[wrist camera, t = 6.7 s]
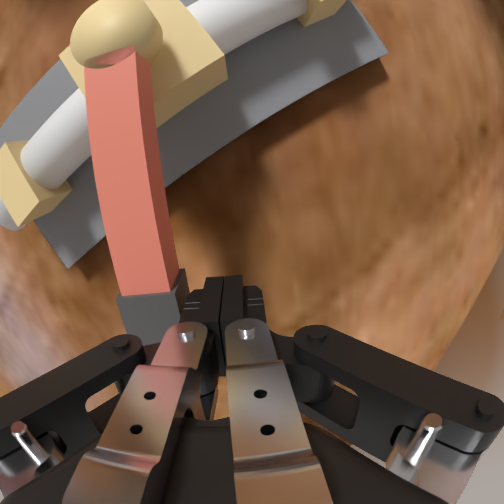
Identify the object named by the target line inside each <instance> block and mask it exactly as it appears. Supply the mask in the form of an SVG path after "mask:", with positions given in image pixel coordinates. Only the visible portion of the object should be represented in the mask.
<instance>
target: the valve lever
mask: <svg viewBox="0 0 504 504" xmlns="http://www.w3.org/2000/svg"><path fill="white" fill-rule="evenodd" d="M162 41H163V32H162V28H161V26H160V24H159V22H158V21H157V19H156V18H155V16H154V15H153V13H152V12H151V10H150V9H149V7H148V6H147V4H146V3H145V2H144V1H143V0H99V1H97V2H96V3H94V4H93V5H91V6H90V7H89V8H88V9H87V10H86V11H85V12H84V13H83V14H82V15H81V16H80V18H79V19H78V21H77V22H76V24H75V26H74V28H73V31H72V34H71V39H70V48H71V52H72V55H73V57H74V58H75V60H76V61H77V62H78V63H79V64H81V65H82V66H84V79H85V97H86V110H87V121H88V131H89V140H90V148H91V155H92V162H93V169H94V175H95V182H96V187H97V193H98V199H99V204H100V209H101V214H102V219H103V224H104V228H105V233H106V237H107V242H108V246H109V250H110V254H111V258H112V262H113V266H114V270H115V273H116V277H117V281H118V284H119V288H120V291H121V292H120V294H119V295H118V296H117V298H116V301H117V305H118V308H119V311H120V314H121V317H122V320H123V323H124V326H125V329H126V332H127V334H131V335H136V336H138V337H139V338H140V339H141V341H142V344H143V346H145V345H150V344H155V343H159V342H162V340H163V338H164V336H165V334H166V332H167V330H168V329H169V328H171V327H172V326H174V325H176V324H179V321H180V317H181V314H182V311H183V309H184V305H185V302H186V299H187V296H188V295H189V294H190V292H189V287H188V282H187V277H186V272H185V268H184V269H179V266H178V261H177V256H176V251H175V245H174V240H173V235H172V229H171V224H170V218H169V212H168V206H167V200H166V194H165V187H164V181H163V174H162V167H161V160H160V152H159V145H158V137H157V129H156V120H155V111H154V101H153V90H152V79H151V67H150V64H151V63H152V62H153V60H154V59H155V58H156V56H157V55H158V53H159V51H160V49H161V46H162Z"/></svg>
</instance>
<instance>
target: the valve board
mask: <svg viewBox="0 0 504 504" xmlns="http://www.w3.org/2000/svg"><path fill="white" fill-rule="evenodd" d="M143 1H144V2H145V3H146V4H147V6H148V7H149V9H150V10H151V12H152V13H153V15H154V16H155V18H156V19H157V21H158V22H159V24H160V26H161V28H162V32H163V41H162V46H161V49H160V51H159V53H158V55H157V56H156V58H155V59H154V60H153V62H152V63H151V64H150V67H151V79H152V90H153V101H154V111H155V120H156V129H157V137H158V145H159V152H160V160H161V167H162V174H163V181H164V187H165V188H166V187H167V186H169V185H170V184H171V183H173V182H174V181H175V180H177V179H178V178H179V177H181V176H182V175H184V174H185V173H186V172H188V171H189V170H191V169H192V168H193V167H195V166H196V165H198V164H199V163H200V162H202V161H203V160H205V159H206V158H207V157H209V156H210V155H212V154H213V153H215V152H216V151H218V150H219V149H221V148H222V147H224V146H225V145H227V144H228V143H230V142H231V141H233V140H234V139H236V138H237V137H239V136H240V135H242V134H243V133H245V132H246V131H248V130H250V129H251V128H253V127H254V126H256V125H257V124H259V123H261V122H262V121H264V120H265V119H267V118H269V117H270V116H272V115H274V114H275V113H277V112H279V111H280V110H282V109H284V108H285V107H287V106H289V105H290V104H292V103H294V102H296V101H297V100H299V99H301V98H303V97H304V96H306V95H308V94H310V93H311V92H313V91H315V90H317V89H319V88H321V87H322V86H324V85H326V84H328V83H330V82H332V81H334V80H335V79H337V78H339V77H341V76H343V75H345V74H347V73H349V72H351V71H353V70H355V69H357V68H359V67H361V66H363V65H365V64H367V63H369V62H371V61H373V60H376V59H378V58H380V57H382V56H383V55H385V54H387V53H389V52H388V51H387V49H386V48H385V46H384V45H383V43H382V42H381V40H380V39H379V37H378V36H377V34H376V33H375V31H374V30H373V29H372V27H371V26H370V24H369V23H368V22H367V20H366V19H365V18H364V16H363V15H362V14H361V12H360V11H359V10H358V8H357V7H356V6H355V5H354V3H353V2H352V1H351V0H143ZM59 57H60V60H59V61H58V62H57V63H56V64H55V65H54V66H53V67H52V68H51V69H50V70H49V71H48V72H47V73H46V74H45V75H44V76H43V77H42V78H41V79H40V80H39V82H38V83H37V84H36V85H35V86H34V87H33V88H32V89H31V90H30V92H29V93H28V94H27V95H26V96H25V97H24V98H23V100H22V101H21V102H20V103H19V104H18V106H17V107H16V108H15V109H14V111H13V112H12V113H11V114H10V116H9V117H8V118H7V120H6V121H5V122H4V124H3V125H2V126H1V128H0V225H1V226H3V227H4V228H6V229H9V230H13V231H17V230H21V229H22V228H24V227H25V225H26V224H27V223H28V222H30V221H32V220H34V222H35V223H36V225H37V226H38V228H39V229H40V231H41V232H42V234H43V235H44V237H45V238H46V239H47V241H48V242H49V244H50V245H51V247H52V248H53V249H54V251H55V252H56V254H57V255H58V256H59V258H60V259H61V260H62V262H63V263H64V264H65V266H66V267H67V268H68V269H69V268H70V267H71V266H72V265H73V264H75V263H76V262H77V261H78V260H79V259H80V258H81V257H82V256H84V255H85V254H86V253H87V252H88V251H89V250H90V249H91V248H93V247H94V246H95V245H96V244H97V243H98V242H99V241H101V240H102V239H103V238H104V237H105V236H106V233H105V228H104V224H103V219H102V214H101V209H100V204H99V199H98V193H97V187H96V182H95V175H94V169H93V162H92V155H91V148H90V140H89V131H88V121H87V110H86V97H85V79H84V66H82V65H81V64H79V63H78V62H77V61H76V60H75V58H74V57H73V55H72V52H71V48H70V45H69V46H68V47H67V48H66V49H65V50H64V51H63V52H62V53H61V54H60V55H59Z"/></svg>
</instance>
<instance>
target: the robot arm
mask: <svg viewBox="0 0 504 504" xmlns="http://www.w3.org/2000/svg"><path fill="white" fill-rule="evenodd" d="M219 376H227V390H228V402H229V415H230V417H227V418H222V419H218V420H214V414H215V409H216V403H217V398H218V387H217V385H218V378H219ZM335 381H337V382H339V383H341V384H342V385H344V386H346V387H348V388H350V389H352V390H353V391H354V392H355V393H356V394H357V395H358V397H357V396H355V395H353V394H352V393H350V392H348V391H346V390H344V389H342V388H340V387H338V386H337V385H335V384H334V382H335ZM113 382H114V383H115V385H116V387H117V390H118V392H119V394H118V395H116V396H115V397H113V398H111V399H110V400H108V401H107V402H105V403H103V404H102V405H100V406H99V407H97V408H95V409H94V410H92V411H90V412H88V413H87V411H86V409H85V403H86V401H87V399H88V398H89V397H90V396H92V395H94V394H95V393H97V392H99V391H100V390H102V389H104V388H105V387H107V386H109V385H110V384H112V383H113ZM299 411H300V412H302V413H303V414H305V415H306V416H308V417H310V418H311V419H313V420H314V421H316V422H317V423H319V424H321V425H322V426H324V427H325V428H327V429H329V430H330V431H332V432H333V433H335V434H337V435H338V436H340V437H342V438H343V439H345V440H347V441H348V442H350V443H352V444H354V445H355V446H357V447H359V448H361V449H362V450H364V451H366V452H368V453H369V454H371V455H373V456H375V457H377V458H378V459H380V460H382V461H384V462H386V468H384V467H382V466H380V465H379V464H377V463H376V462H374V461H372V460H371V459H369V458H367V457H366V456H364V455H362V454H361V453H359V452H358V451H356V450H354V449H353V448H351V447H350V446H348V445H347V444H345V443H344V442H342V441H341V440H339V439H337V438H336V437H334V436H333V435H331V434H330V433H328V432H327V431H325V430H323V429H321V428H319V427H316V426H314V425H311V424H308V423H304V422H303V421H302V418H301V415H300V412H299ZM503 426H504V403H503V402H502V401H501V400H500V399H499V398H498V397H496V396H495V395H492V394H490V393H487V392H485V391H482V390H479V389H477V388H474V387H471V386H469V385H466V384H464V383H461V382H459V381H456V380H453V379H451V378H448V377H446V376H443V375H441V374H438V373H436V372H433V371H431V370H428V369H426V368H424V367H421V366H419V365H416V364H414V363H411V362H409V361H407V360H404V359H402V358H399V357H397V356H395V355H392V354H390V353H388V352H385V351H383V350H380V349H378V348H376V347H373V346H371V345H369V344H366V343H364V342H362V341H360V340H357V339H355V338H353V337H350V336H348V335H346V334H344V333H341V332H339V331H337V330H335V329H332V328H330V327H327V326H323V325H310V326H305V327H303V328H301V329H299V330H298V331H297V332H296V333H295V334H294V337H286V336H281V335H278V334H275V333H273V332H272V331H271V330H270V329H269V327H268V325H267V323H266V316H265V309H264V302H263V295H262V291H261V290H260V289H259V288H258V287H257V286H243V276H242V275H235V276H225V278H224V276H221V277H206V280H205V284H204V288H203V289H197V290H193V291H192V292H191V293H190V294H189V295H188V296H187V299H186V302H185V305H184V309H183V311H182V314H181V317H180V321H179V324H176V325H174V326H172V327H171V328H169V329H168V330H167V332H166V334H165V336H164V338H163V340H162V342H159V343H155V344H150V345H145V346H143V344H142V341H141V339H140V338H139V337H138V336H136V335H131V334H123V335H118V336H115V337H113V338H111V339H109V340H107V341H105V342H103V343H102V344H100V345H98V346H96V347H94V348H92V349H90V350H89V351H87V352H85V353H83V354H81V355H79V356H77V357H76V358H74V359H72V360H70V361H68V362H66V363H64V364H62V365H61V366H59V367H57V368H55V369H53V370H51V371H49V372H48V373H46V374H44V375H42V376H40V377H38V378H36V379H34V380H33V381H31V382H29V383H27V384H25V385H23V386H21V387H19V388H17V389H16V390H14V391H12V392H10V393H8V394H6V395H4V396H2V397H0V489H1V491H2V494H3V496H4V499H3V500H2V501H1V503H0V504H456V503H457V501H458V499H459V497H460V495H461V494H462V492H463V490H464V488H465V486H466V485H467V483H468V481H469V479H470V477H471V475H472V473H473V471H474V468H475V466H476V464H477V462H478V461H479V460H480V458H481V457H482V456H483V454H484V453H485V452H486V450H487V449H488V448H489V446H490V445H491V443H492V442H493V441H494V439H495V438H496V436H497V435H498V434H499V432H500V431H501V429H502V427H503Z"/></svg>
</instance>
